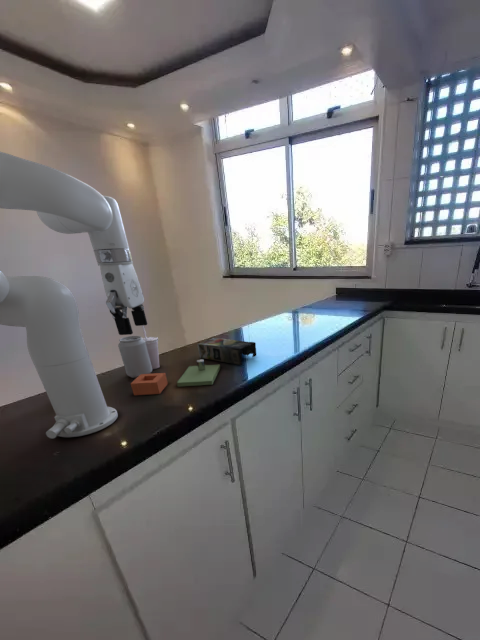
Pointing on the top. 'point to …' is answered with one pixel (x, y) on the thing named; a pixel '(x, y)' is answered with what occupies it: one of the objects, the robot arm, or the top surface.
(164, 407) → the top surface
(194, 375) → the base pad
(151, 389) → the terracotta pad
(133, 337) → the can
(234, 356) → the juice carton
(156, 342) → the smoothie
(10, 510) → the top surface
